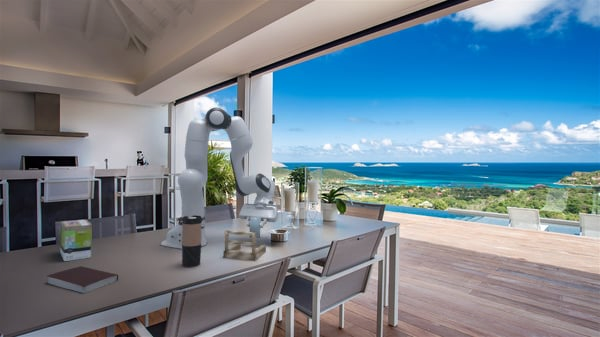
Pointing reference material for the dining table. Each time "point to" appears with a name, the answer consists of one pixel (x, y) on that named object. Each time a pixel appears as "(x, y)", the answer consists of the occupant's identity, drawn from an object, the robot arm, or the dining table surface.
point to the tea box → (75, 240)
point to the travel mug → (191, 241)
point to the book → (81, 279)
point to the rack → (234, 249)
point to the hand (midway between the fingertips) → (254, 226)
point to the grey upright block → (255, 226)
